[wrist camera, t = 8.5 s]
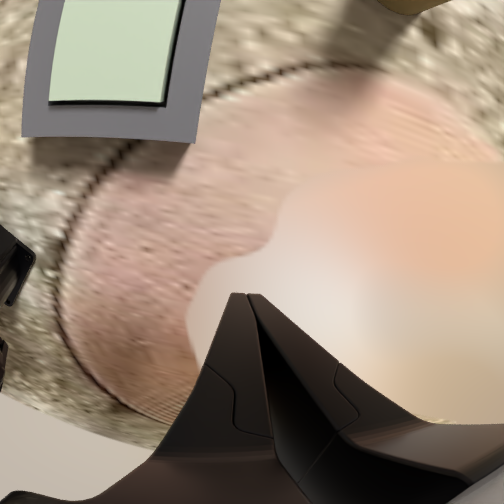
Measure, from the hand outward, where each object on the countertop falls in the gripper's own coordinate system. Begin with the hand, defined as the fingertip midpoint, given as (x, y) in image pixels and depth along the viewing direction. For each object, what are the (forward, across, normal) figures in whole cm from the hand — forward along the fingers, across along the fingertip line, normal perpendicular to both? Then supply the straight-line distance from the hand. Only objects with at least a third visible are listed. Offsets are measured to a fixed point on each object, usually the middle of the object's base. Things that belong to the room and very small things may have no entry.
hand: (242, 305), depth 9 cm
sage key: (+12, +7, -8) cm, 16 cm away
